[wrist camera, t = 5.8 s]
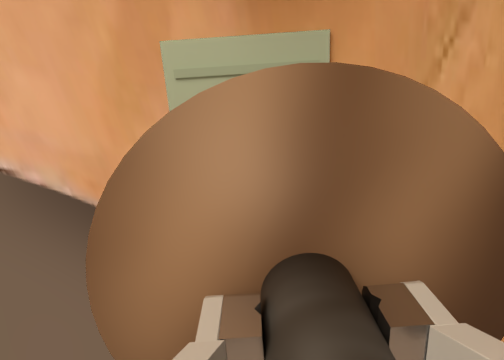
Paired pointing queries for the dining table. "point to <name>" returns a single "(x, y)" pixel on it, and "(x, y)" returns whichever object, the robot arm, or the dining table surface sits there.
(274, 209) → the lid
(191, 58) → the trivet
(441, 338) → the robot arm
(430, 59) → the dining table surface
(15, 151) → the dining table surface
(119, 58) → the dining table surface
